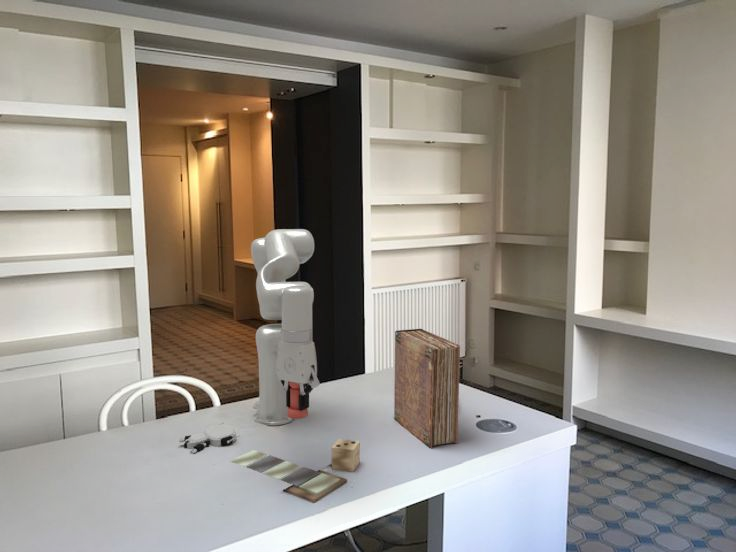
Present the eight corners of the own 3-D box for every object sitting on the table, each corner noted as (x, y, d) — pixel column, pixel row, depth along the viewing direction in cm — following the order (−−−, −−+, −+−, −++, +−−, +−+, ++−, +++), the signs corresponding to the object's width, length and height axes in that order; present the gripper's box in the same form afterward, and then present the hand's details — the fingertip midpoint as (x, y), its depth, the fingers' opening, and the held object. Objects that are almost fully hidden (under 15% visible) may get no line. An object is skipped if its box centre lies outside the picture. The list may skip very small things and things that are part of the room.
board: (222, 467, 158) (221, 462, 158) (257, 451, 169) (257, 446, 169) (313, 502, 140) (313, 497, 140) (346, 482, 151) (346, 476, 151)
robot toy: (192, 463, 163) (242, 446, 172) (190, 448, 162) (241, 432, 171) (177, 448, 173) (226, 433, 182) (176, 433, 172) (224, 419, 181)
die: (331, 469, 158) (331, 447, 157) (338, 459, 164) (338, 438, 163) (353, 471, 157) (353, 449, 156) (359, 462, 162) (359, 440, 162)
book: (457, 444, 175) (460, 345, 172) (430, 449, 172) (432, 348, 168) (418, 416, 198) (420, 328, 195) (393, 419, 195) (395, 330, 191)
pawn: (283, 415, 149) (283, 372, 147) (296, 410, 153) (296, 368, 151) (298, 420, 146) (297, 375, 144) (311, 414, 150) (311, 371, 149)
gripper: (262, 334, 149) (263, 404, 151) (312, 343, 139) (313, 418, 141) (283, 329, 155) (284, 397, 157) (332, 337, 145) (332, 409, 147)
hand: (297, 406), depth 149 cm, fingers closed on pawn, 3 cm apart
